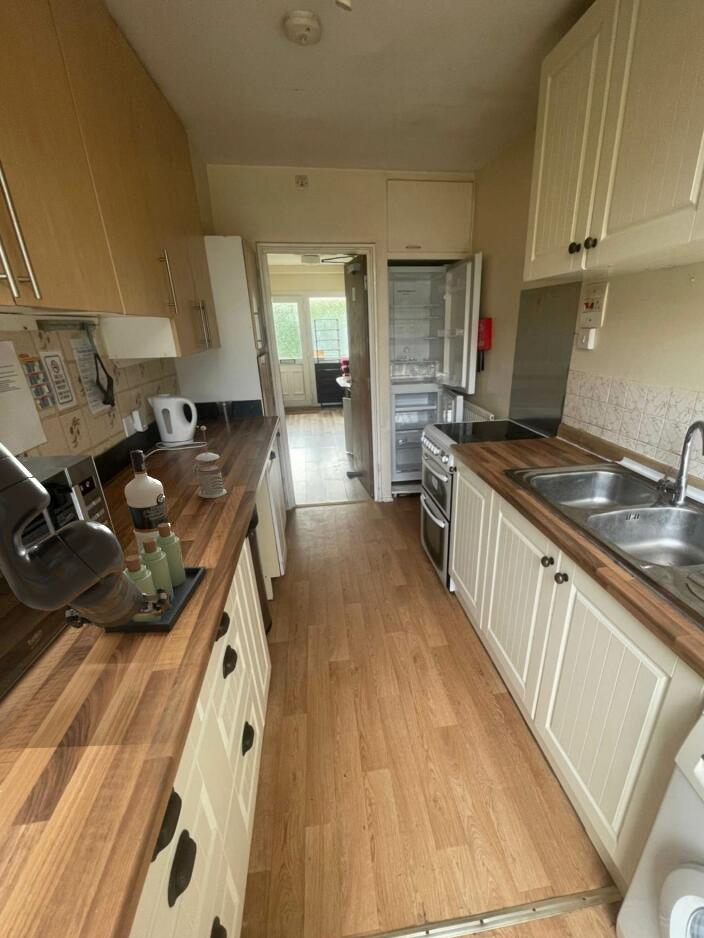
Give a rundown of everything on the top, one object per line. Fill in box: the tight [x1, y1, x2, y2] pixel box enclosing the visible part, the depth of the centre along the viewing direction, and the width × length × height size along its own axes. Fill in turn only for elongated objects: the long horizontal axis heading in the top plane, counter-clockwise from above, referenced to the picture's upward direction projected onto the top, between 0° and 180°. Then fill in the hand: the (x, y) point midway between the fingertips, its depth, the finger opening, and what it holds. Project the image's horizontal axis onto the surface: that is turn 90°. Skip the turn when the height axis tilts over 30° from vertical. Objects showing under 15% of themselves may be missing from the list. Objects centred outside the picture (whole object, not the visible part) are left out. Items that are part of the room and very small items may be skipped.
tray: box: [103, 565, 207, 634], centre depth 96 cm, size 13×23×2 cm, turn 3°
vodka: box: [124, 449, 172, 557], centre depth 106 cm, size 9×9×30 cm
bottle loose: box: [123, 554, 161, 622], centre depth 86 cm, size 5×5×15 cm
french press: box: [192, 425, 227, 499], centre depth 153 cm, size 10×12×25 cm
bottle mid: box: [139, 538, 174, 601], centre depth 93 cm, size 5×5×15 cm
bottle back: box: [155, 522, 186, 587], centre depth 100 cm, size 5×5×15 cm
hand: (131, 616), depth 76 cm, fingers open, 8 cm apart
